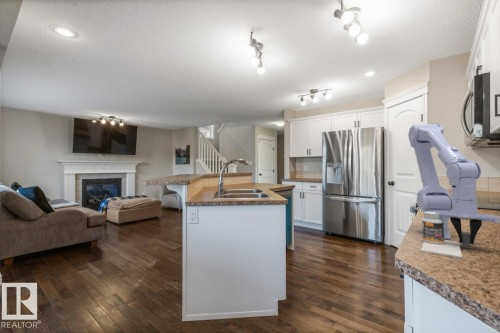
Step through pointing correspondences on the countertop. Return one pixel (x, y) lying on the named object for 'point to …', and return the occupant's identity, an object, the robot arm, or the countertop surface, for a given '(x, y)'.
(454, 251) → the pull board
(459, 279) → the countertop surface
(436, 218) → the pill bottle
